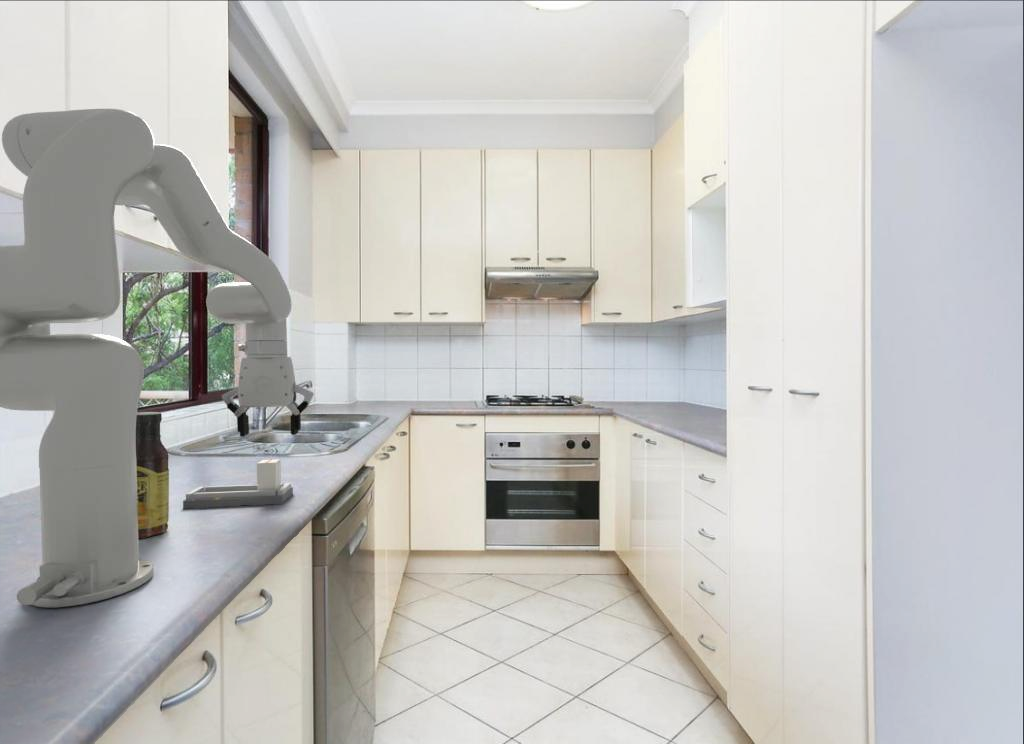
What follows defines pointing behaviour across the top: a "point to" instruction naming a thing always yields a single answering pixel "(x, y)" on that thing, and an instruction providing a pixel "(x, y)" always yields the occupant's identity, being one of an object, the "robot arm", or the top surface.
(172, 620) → the top surface
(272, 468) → the fader cap
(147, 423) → the sauce bottle
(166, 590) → the top surface
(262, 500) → the grey shallow tray
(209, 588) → the top surface
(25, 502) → the top surface
